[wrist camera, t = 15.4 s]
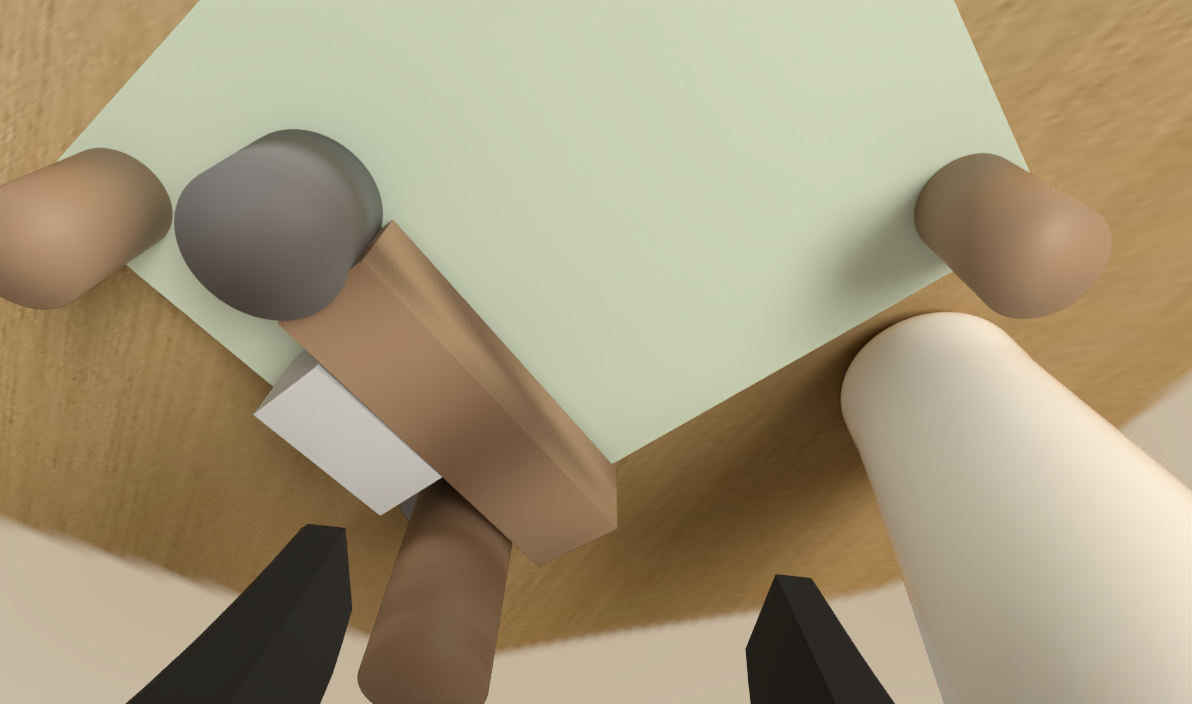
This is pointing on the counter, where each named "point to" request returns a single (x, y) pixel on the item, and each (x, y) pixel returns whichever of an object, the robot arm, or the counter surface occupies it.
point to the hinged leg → (393, 334)
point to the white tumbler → (1021, 522)
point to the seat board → (579, 190)
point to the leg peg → (439, 607)
